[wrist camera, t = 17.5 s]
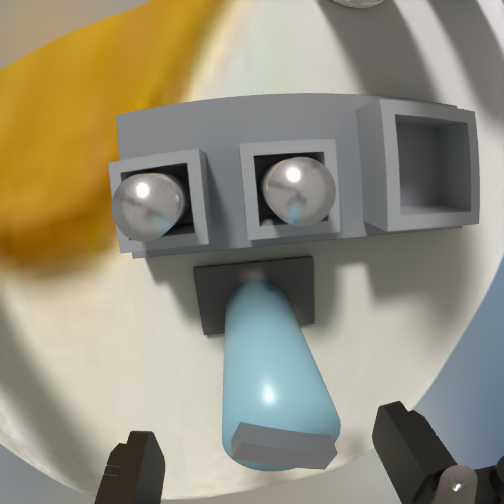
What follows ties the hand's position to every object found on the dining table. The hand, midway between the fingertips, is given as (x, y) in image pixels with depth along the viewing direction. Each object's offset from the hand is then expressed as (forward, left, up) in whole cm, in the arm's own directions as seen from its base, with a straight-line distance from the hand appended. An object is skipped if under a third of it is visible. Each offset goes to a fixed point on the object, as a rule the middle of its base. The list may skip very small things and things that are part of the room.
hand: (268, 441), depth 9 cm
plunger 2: (+2, +8, -10) cm, 13 cm away
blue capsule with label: (0, -1, -12) cm, 12 cm away
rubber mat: (0, 0, -13) cm, 13 cm away
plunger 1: (-4, +8, -10) cm, 13 cm away
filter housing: (+4, +9, -13) cm, 16 cm away
